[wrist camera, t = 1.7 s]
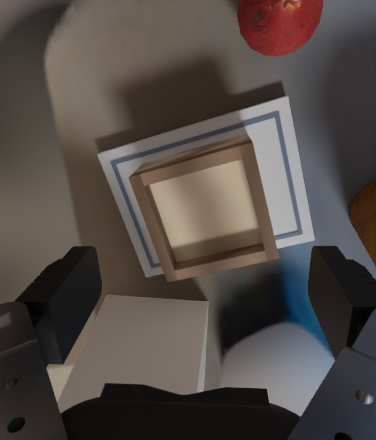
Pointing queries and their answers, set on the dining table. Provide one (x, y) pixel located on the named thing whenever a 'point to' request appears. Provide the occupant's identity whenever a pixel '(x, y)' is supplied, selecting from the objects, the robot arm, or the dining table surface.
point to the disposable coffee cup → (365, 218)
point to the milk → (141, 348)
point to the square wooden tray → (206, 209)
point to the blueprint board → (208, 133)
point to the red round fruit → (278, 24)
